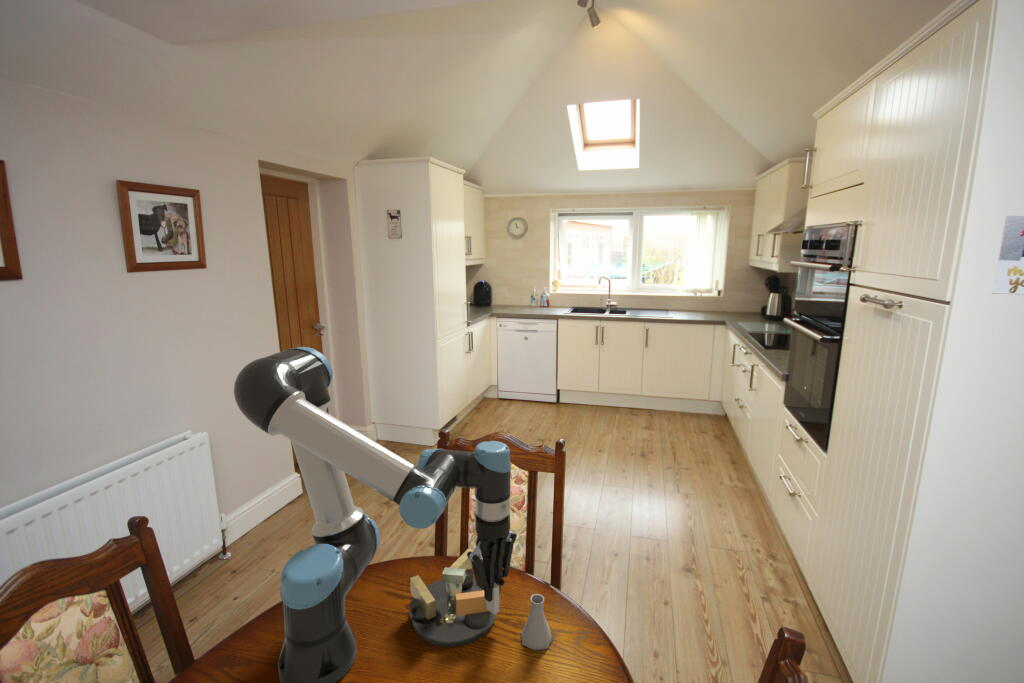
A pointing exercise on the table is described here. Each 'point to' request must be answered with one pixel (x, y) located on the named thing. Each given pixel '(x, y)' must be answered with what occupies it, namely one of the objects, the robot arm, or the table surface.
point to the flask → (536, 626)
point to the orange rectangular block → (474, 609)
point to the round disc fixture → (445, 606)
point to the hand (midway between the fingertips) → (492, 609)
